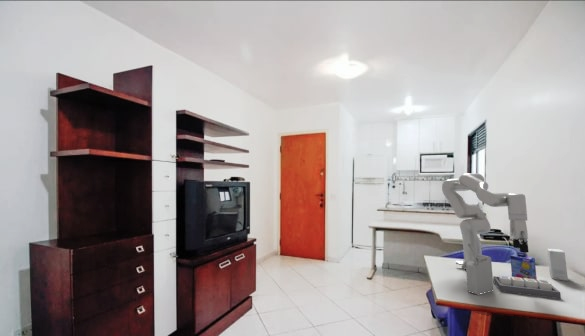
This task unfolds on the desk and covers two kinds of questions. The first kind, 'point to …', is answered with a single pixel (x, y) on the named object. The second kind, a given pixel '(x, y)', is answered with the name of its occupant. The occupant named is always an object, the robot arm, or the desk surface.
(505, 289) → the grey compartment tray
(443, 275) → the desk surface
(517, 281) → the key terracotta
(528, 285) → the key olive
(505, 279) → the key slate
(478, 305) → the desk surface
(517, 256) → the ink cartridge box
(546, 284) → the key charcoal
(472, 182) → the robot arm
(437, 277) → the desk surface
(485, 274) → the fuel canister
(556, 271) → the skincare box
